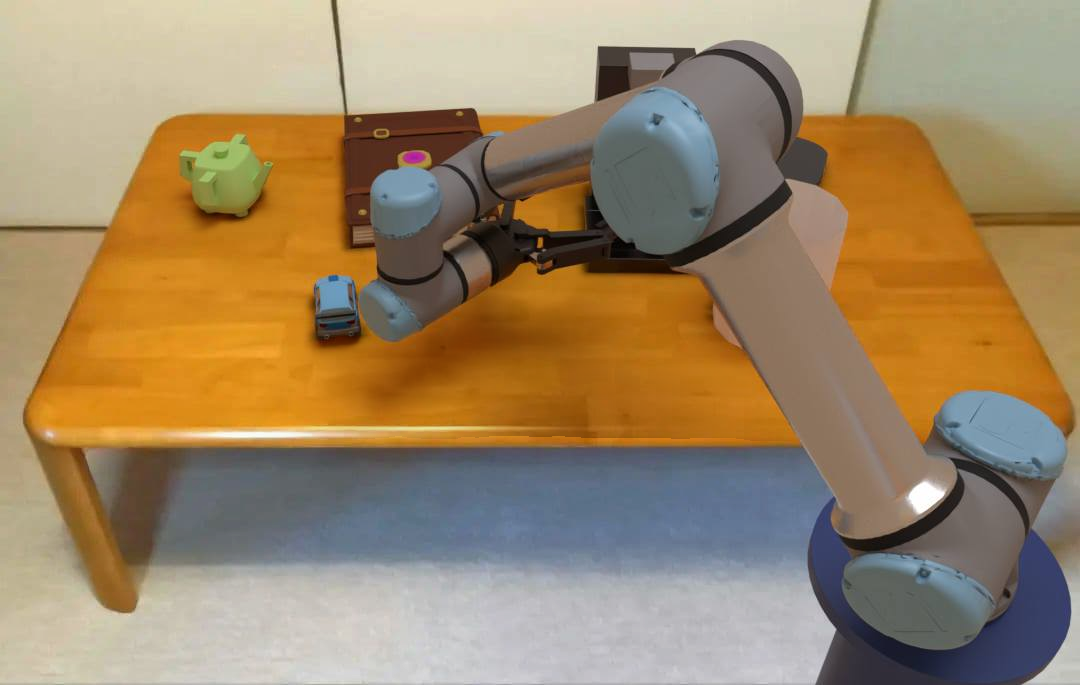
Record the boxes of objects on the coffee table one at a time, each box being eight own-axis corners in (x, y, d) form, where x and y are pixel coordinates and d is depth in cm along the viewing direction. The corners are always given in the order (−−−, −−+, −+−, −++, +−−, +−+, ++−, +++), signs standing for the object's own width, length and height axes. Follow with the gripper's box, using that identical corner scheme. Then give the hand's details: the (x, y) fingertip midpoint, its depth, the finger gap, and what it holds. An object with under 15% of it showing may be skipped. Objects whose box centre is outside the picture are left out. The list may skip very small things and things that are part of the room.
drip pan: (698, 274, 146) (701, 260, 144) (587, 272, 146) (588, 258, 144) (687, 210, 158) (688, 196, 156) (583, 208, 157) (584, 195, 156)
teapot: (210, 233, 151) (197, 176, 144) (181, 197, 158) (167, 141, 151) (284, 208, 156) (274, 152, 150) (253, 174, 163) (242, 119, 156)
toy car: (357, 288, 142) (352, 255, 138) (363, 345, 133) (359, 311, 129) (314, 293, 141) (308, 260, 137) (317, 350, 132) (312, 317, 128)
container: (693, 302, 141) (710, 192, 129) (780, 277, 146) (804, 169, 134) (750, 367, 131) (774, 255, 119) (841, 338, 136) (873, 228, 124)
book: (348, 248, 149) (345, 220, 145) (345, 138, 172) (342, 111, 168) (503, 237, 152) (502, 209, 148) (479, 129, 175) (478, 103, 171)
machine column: (684, 229, 154) (706, 70, 137) (591, 227, 154) (601, 68, 136) (676, 189, 162) (696, 34, 145) (589, 187, 162) (598, 32, 145)
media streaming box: (742, 140, 174) (745, 124, 172) (828, 157, 170) (832, 142, 168) (722, 183, 164) (725, 167, 162) (813, 203, 160) (817, 187, 158)
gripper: (409, 243, 133) (524, 181, 144) (547, 332, 120) (661, 256, 131) (405, 194, 128) (524, 134, 139) (548, 281, 115) (667, 207, 126)
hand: (591, 193), depth 135 cm, fingers open, 13 cm apart
